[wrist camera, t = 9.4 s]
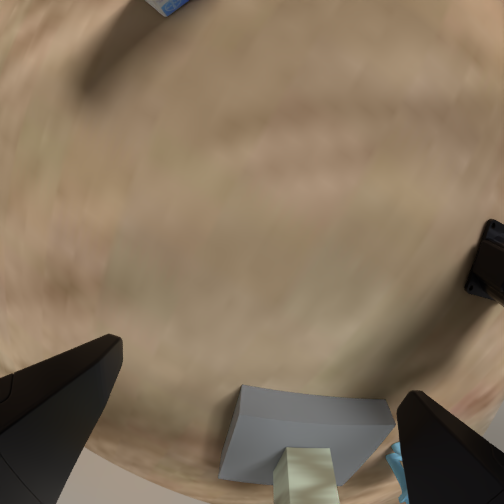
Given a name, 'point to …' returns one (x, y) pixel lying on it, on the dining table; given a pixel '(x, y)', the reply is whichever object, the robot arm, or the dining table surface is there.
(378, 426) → the grey block
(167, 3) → the medicine box
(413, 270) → the dining table surface
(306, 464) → the sage block
